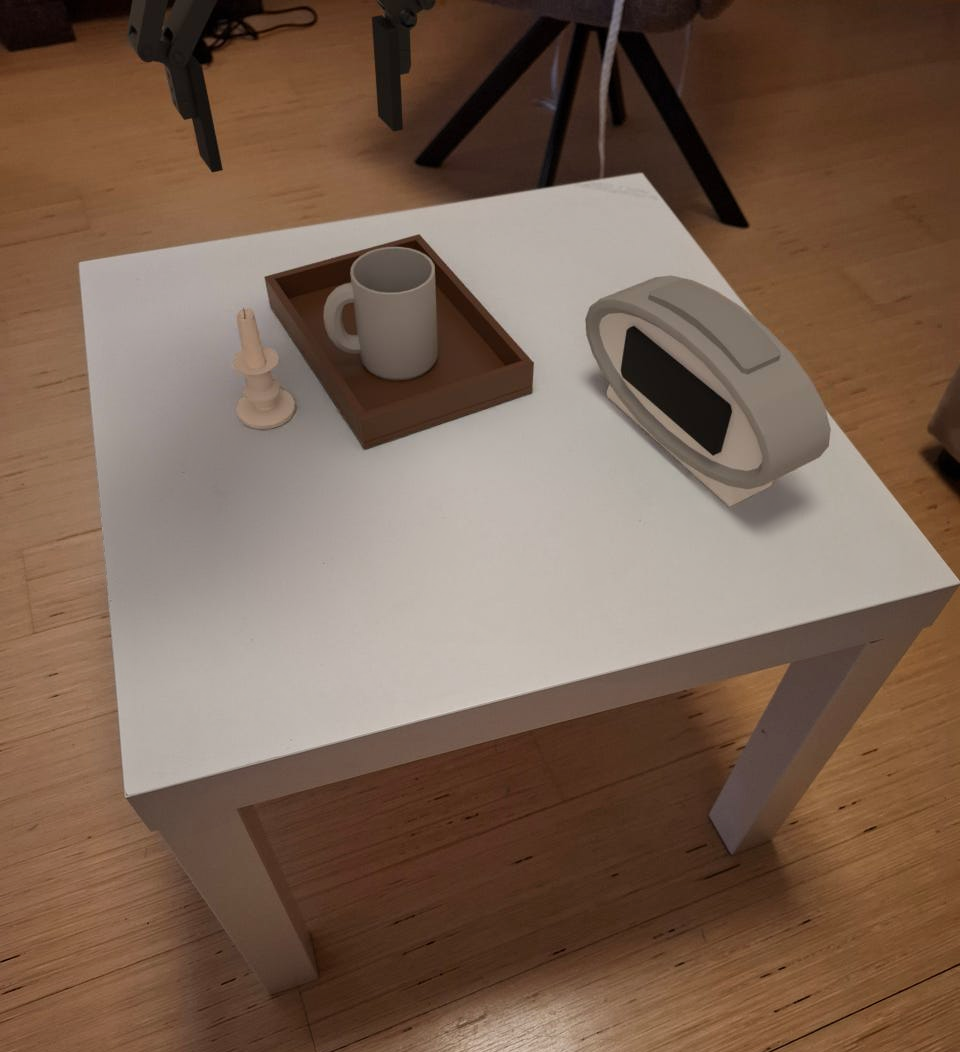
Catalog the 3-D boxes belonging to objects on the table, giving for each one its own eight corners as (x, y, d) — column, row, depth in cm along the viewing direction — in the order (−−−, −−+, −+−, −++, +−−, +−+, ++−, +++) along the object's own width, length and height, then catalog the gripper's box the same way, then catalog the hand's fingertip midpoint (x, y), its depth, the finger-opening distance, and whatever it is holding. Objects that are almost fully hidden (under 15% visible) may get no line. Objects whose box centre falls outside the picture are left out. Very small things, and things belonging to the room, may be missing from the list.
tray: (270, 306, 93) (263, 276, 91) (421, 263, 98) (419, 233, 95) (364, 450, 81) (360, 419, 78) (532, 393, 85) (534, 362, 83)
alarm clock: (577, 379, 87) (590, 251, 76) (630, 357, 89) (650, 229, 78) (748, 535, 75) (791, 408, 65) (805, 506, 77) (855, 378, 67)
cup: (444, 377, 85) (441, 289, 78) (334, 390, 84) (321, 302, 77) (432, 330, 90) (428, 243, 83) (327, 342, 89) (314, 254, 81)
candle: (244, 435, 82) (218, 333, 74) (231, 399, 85) (204, 297, 76) (302, 421, 83) (283, 318, 75) (287, 386, 86) (267, 283, 78)
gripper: (25, -230, 44) (145, 206, 61) (490, -272, 52) (482, 128, 69) (-6, -262, 48) (114, 156, 65) (430, -297, 56) (436, 87, 73)
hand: (303, 142), depth 67 cm, fingers open, 13 cm apart
